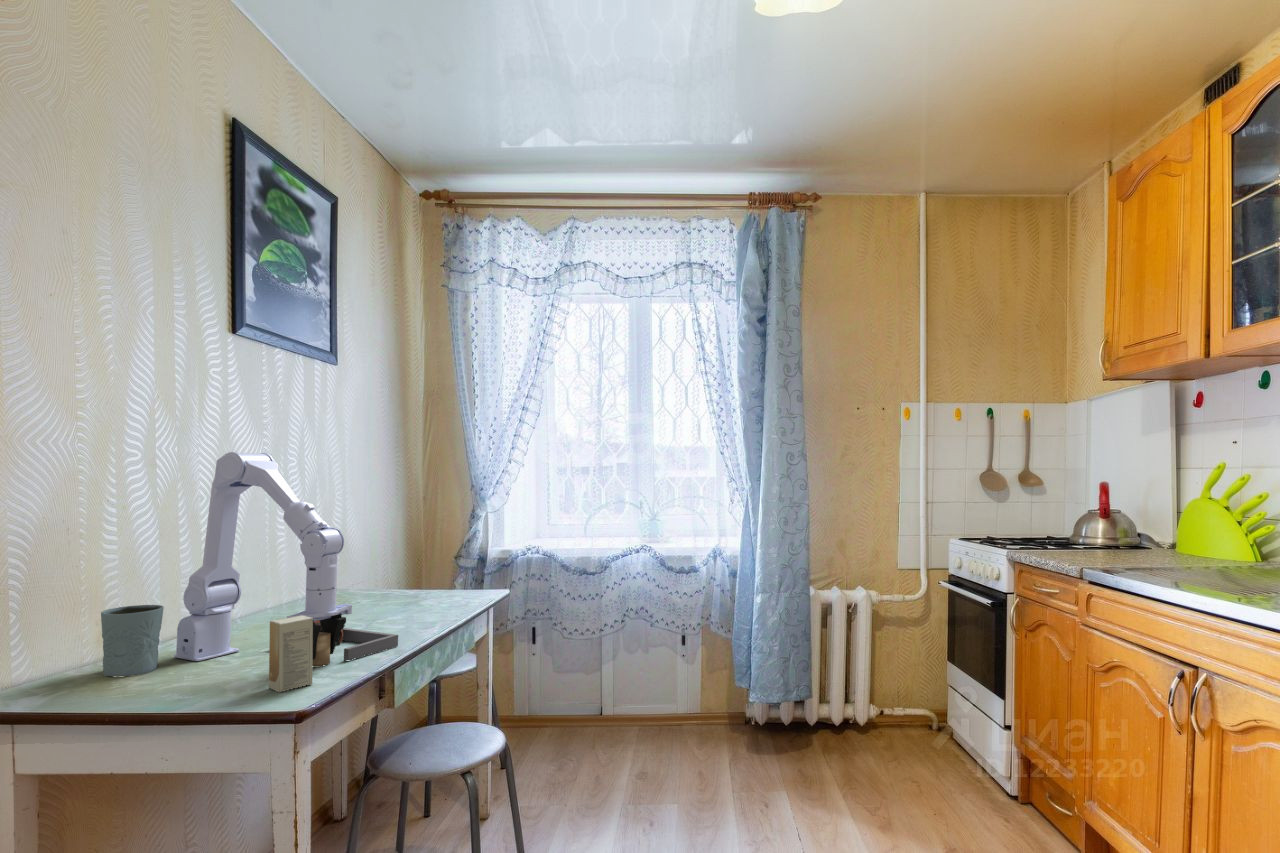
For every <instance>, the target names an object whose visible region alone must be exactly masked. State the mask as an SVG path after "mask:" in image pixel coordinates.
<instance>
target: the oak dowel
mask: <svg viewBox="0 0 1280 853" xmlns="http://www.w3.org/2000/svg"><path fill="white" fill-rule="evenodd" d="M330 638H331V633H329V632H319V634H318V638H317V646H316V656H315V659H313V666H322V667H324V666H323V665H326V666H328V665H327V664H329V663H330V662H331V654H330ZM330 664H331V663H330ZM330 664H329V665H330Z"/></svg>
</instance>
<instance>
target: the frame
mask: <svg viewBox="0 0 1280 853" xmlns="http://www.w3.org/2000/svg"><path fill="white" fill-rule="evenodd" d="M338 639H340V635H339V636H338ZM344 640H348V641H347V642H351V641H356V642H355V643H358V644H356V645H353V646H349V647H345V648H344V649H343V661H344V660H352V659H354V658H358V657H361V656H364V655H368V654H371V653H374V654H376V653H375V652H378V653H380V652H379V651H381V652H384V651H387V650H390V649H389V648H391V649H393V648H392V647H394V648H396V646H397V647H399V634H393V633H386V632H381V631H380V632H377V631H372V630H371V631H370V630H364V629H363V630H362V629H355V628H347V627H344V628H343V639H342V641H344ZM359 642H364V643H359ZM386 649H387V650H386ZM383 650H384V651H383ZM371 655H372V654H371ZM368 656H369V655H368ZM361 658H362V657H361ZM358 659H359V658H358ZM352 661H353V660H352Z"/></svg>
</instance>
